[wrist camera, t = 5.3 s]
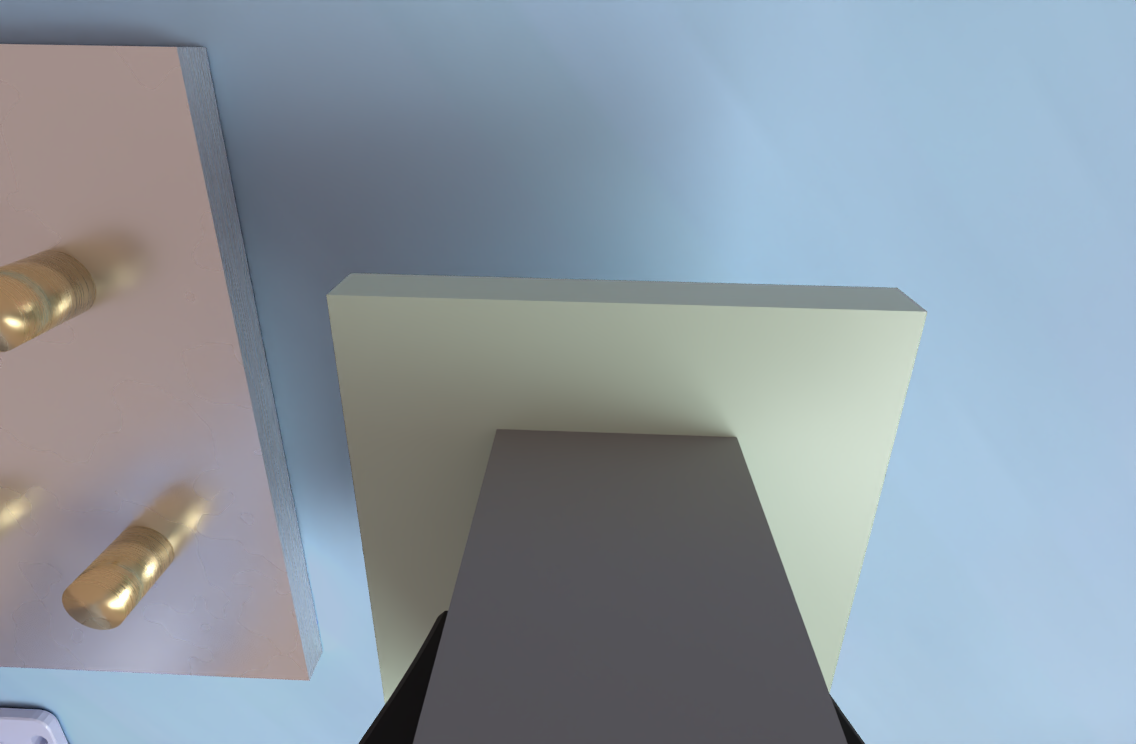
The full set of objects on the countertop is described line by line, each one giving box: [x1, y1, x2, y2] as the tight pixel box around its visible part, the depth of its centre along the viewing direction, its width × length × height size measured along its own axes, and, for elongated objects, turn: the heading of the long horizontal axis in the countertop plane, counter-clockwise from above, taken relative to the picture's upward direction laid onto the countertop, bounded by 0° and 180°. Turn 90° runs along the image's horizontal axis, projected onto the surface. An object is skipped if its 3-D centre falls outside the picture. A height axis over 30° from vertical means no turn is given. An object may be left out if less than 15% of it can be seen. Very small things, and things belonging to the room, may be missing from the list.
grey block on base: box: [326, 273, 927, 744], centre depth 9 cm, size 10×8×7 cm
